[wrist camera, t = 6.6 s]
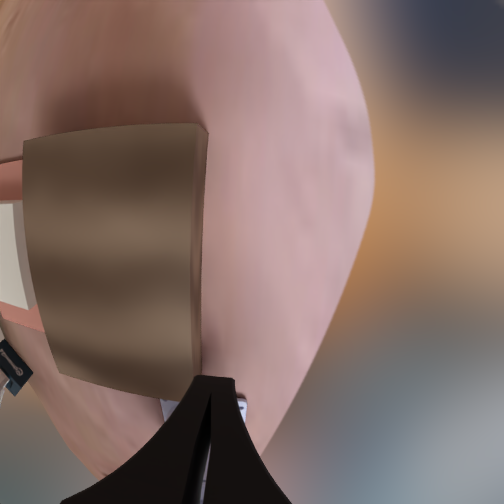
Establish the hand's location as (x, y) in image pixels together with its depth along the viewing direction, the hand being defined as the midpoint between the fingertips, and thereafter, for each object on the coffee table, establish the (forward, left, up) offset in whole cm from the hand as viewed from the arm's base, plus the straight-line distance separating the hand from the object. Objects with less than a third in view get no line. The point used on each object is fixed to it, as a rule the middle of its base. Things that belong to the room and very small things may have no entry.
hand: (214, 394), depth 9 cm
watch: (-14, +27, -11) cm, 32 cm away
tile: (+1, +20, -8) cm, 22 cm away
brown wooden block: (+1, +8, -10) cm, 13 cm away
